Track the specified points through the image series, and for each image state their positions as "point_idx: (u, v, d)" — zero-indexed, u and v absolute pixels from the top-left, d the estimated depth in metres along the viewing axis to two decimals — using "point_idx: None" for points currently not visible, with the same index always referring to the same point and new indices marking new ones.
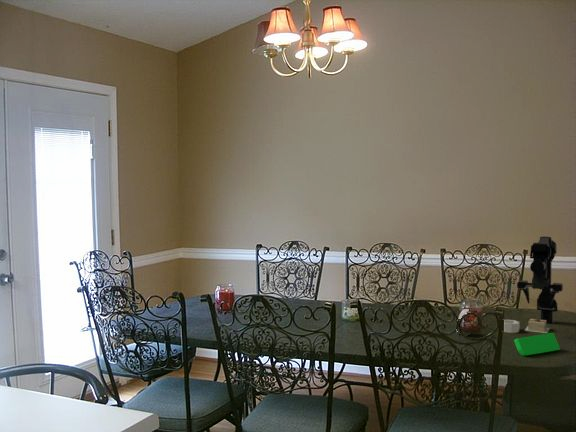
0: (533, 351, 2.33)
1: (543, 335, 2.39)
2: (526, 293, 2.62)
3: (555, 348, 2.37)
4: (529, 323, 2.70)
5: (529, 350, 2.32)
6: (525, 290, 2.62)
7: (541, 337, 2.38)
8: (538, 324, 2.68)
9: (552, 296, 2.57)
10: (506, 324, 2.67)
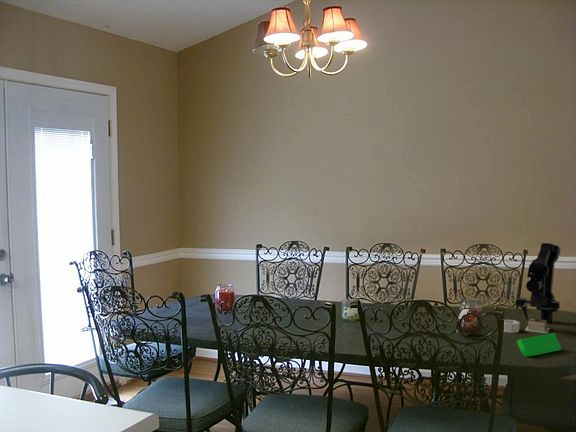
0: (536, 352, 2.32)
1: (545, 335, 2.38)
2: (525, 310, 2.73)
3: (556, 348, 2.37)
4: (529, 323, 2.70)
5: (532, 351, 2.31)
6: (524, 308, 2.72)
7: (543, 337, 2.37)
8: (538, 324, 2.68)
9: (549, 314, 2.67)
10: (506, 324, 2.67)
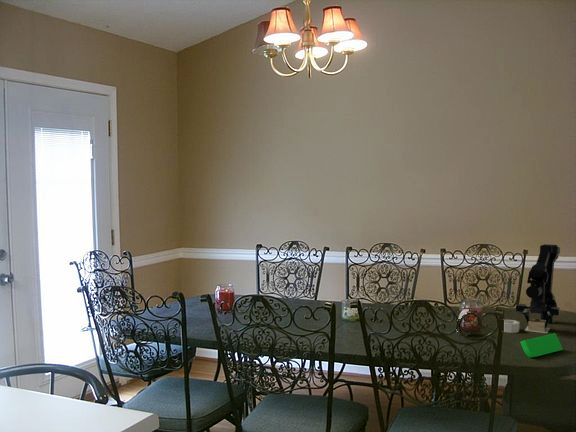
0: (539, 352, 2.31)
1: (546, 336, 2.37)
2: (526, 316, 2.73)
3: (558, 348, 2.37)
4: (529, 323, 2.70)
5: (536, 352, 2.30)
6: (526, 314, 2.72)
7: (545, 338, 2.36)
8: (538, 324, 2.68)
9: (547, 319, 2.68)
10: (506, 324, 2.67)
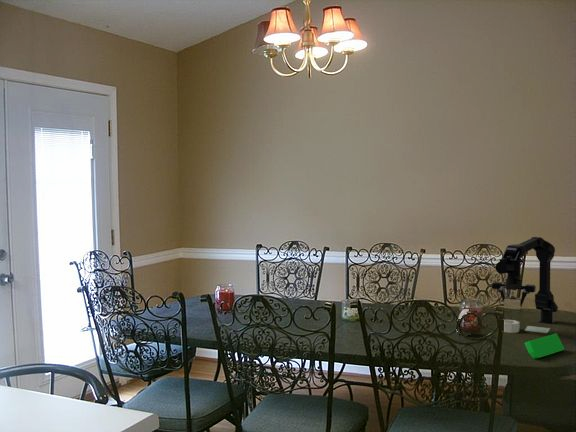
0: (543, 353, 2.30)
1: (549, 336, 2.37)
2: (502, 294, 2.70)
3: (560, 349, 2.37)
4: (505, 300, 2.68)
5: (540, 353, 2.29)
6: (501, 291, 2.70)
7: (547, 338, 2.36)
8: (514, 301, 2.66)
9: (523, 297, 2.66)
10: (506, 324, 2.67)
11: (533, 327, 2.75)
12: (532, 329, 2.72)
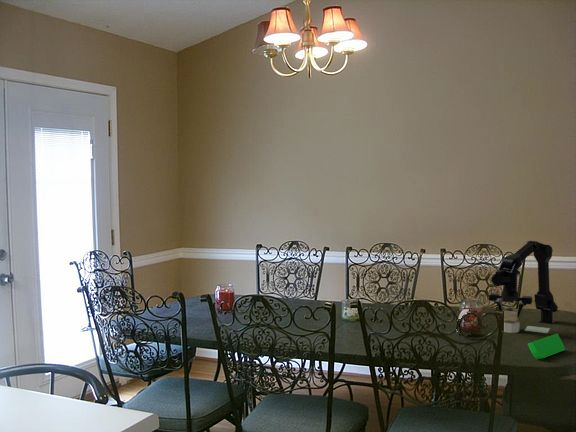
0: (546, 354, 2.29)
1: (550, 336, 2.36)
2: (499, 306, 2.71)
3: (561, 349, 2.36)
4: None
5: (543, 353, 2.28)
6: (498, 303, 2.70)
7: (549, 338, 2.35)
8: (510, 313, 2.67)
9: (520, 308, 2.66)
10: (506, 324, 2.67)
11: (533, 327, 2.75)
12: (532, 329, 2.72)
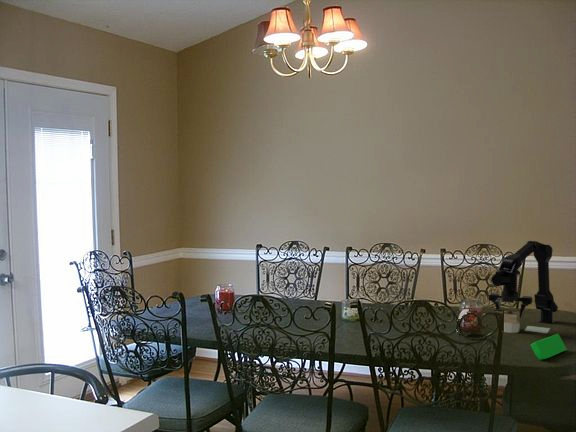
0: (549, 354, 2.29)
1: (552, 337, 2.36)
2: (497, 306, 2.71)
3: (563, 349, 2.36)
4: None
5: (546, 354, 2.27)
6: (496, 303, 2.71)
7: (551, 339, 2.35)
8: (510, 316, 2.67)
9: (522, 309, 2.66)
10: (506, 324, 2.67)
11: (533, 327, 2.75)
12: (532, 329, 2.72)
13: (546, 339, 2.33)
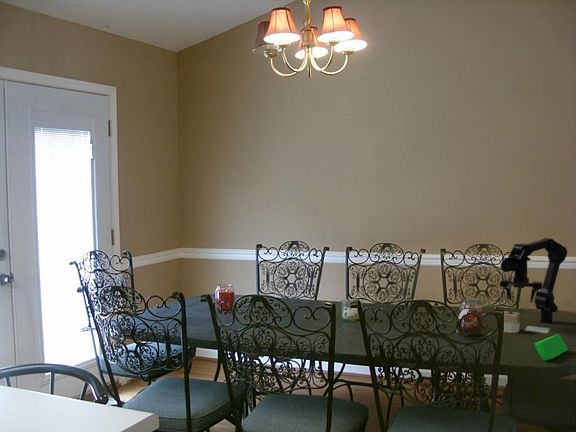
0: (553, 355, 2.28)
1: (554, 337, 2.36)
2: (508, 291, 2.79)
3: (564, 349, 2.36)
4: None
5: (550, 354, 2.27)
6: (507, 289, 2.79)
7: (553, 339, 2.34)
8: (510, 316, 2.67)
9: (532, 294, 2.74)
10: (506, 324, 2.67)
11: (533, 327, 2.75)
12: (532, 329, 2.72)
13: (549, 340, 2.32)
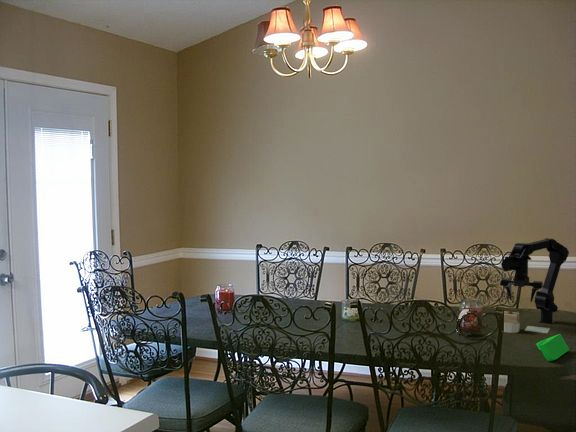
0: (557, 355, 2.27)
1: (556, 337, 2.35)
2: (509, 290, 2.80)
3: (566, 349, 2.36)
4: None
5: (554, 355, 2.26)
6: (508, 288, 2.79)
7: (556, 339, 2.34)
8: (510, 316, 2.67)
9: (533, 293, 2.74)
10: (506, 324, 2.67)
11: (533, 327, 2.75)
12: (532, 329, 2.72)
13: (552, 340, 2.31)
